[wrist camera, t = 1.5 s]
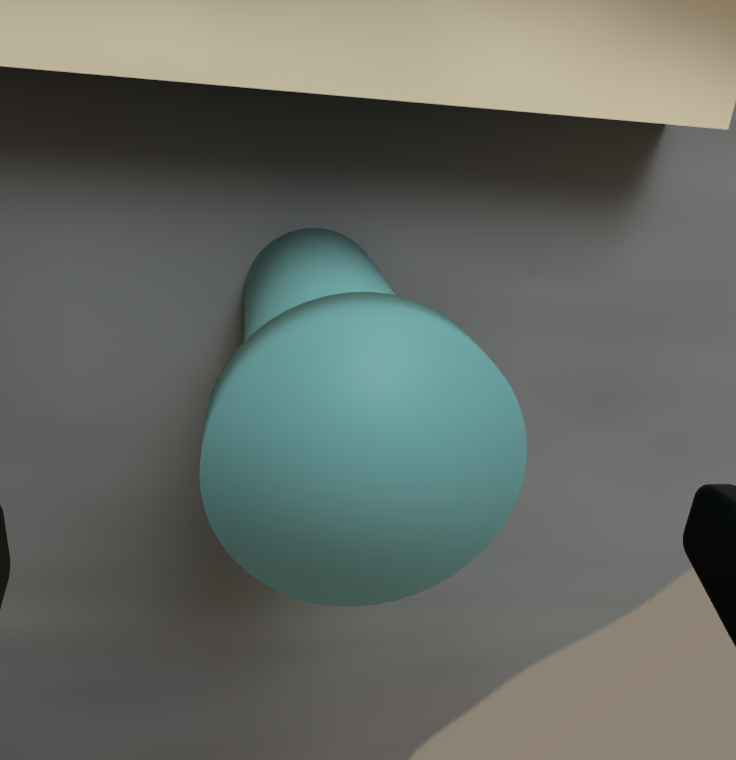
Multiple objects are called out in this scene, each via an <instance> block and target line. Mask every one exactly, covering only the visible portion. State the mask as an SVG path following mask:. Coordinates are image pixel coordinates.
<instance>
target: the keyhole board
mask: <svg viewBox="0 0 736 760" xmlns="http://www.w3.org/2000/svg"><path fill="white" fill-rule="evenodd" d="M0 66H3V67H15V68H26V69H38V70H49V71H61V72H72V73H84V74H95V75H107V76H118V77H130V78H141V79H153V80H164V81H176V82H187V83H199V84H210V85H222V86H233V87H245V88H256V89H268V90H279V91H291V92H302V93H314V94H325V95H337V96H348V97H360V98H371V99H383V100H394V101H406V102H417V103H429V104H440V105H452V106H463V107H475V108H486V109H498V110H509V111H521V112H532V113H544V114H555V115H567V116H578V117H590V118H601V119H613V120H624V121H636V122H647V123H659V124H670V125H682V126H693V127H705V128H716V129H728V128H729V124H730V121H731V117H732V113H733V109H734V105H735V102H736V0H0Z"/></svg>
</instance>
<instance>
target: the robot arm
mask: <svg viewBox="0 0 736 760" xmlns="http://www.w3.org/2000/svg"><path fill="white" fill-rule="evenodd" d="M683 546H684V550H685V552H686V555H687V557H688V558H689V560H690V562H691V564H692V566H693V568H694V570H695V572H696V574H697V575H698V577H699V579H700V581H701V583H702V585H703V587H704V589H705V591H706V593H707V594H708V596H709V598H710V600H711V602H712V604H713V606H714V607H715V609H716V611H717V613H718V615H719V617H720V619H721V621H722V623H723V625H724V626H725V628H726V630H727V632H728V634H729V636H730V637H731V639H732V641H733V643H734V645H735V646H736V486H735V485H731V484H708V485H703V486H702V487H700V488H699V489H698V490H697V492H696V494H695V496H694V499H693V503H692V506H691V509H690V513H689V516H688V519H687V523H686V526H685V529H684V533H683ZM9 573H10V555H9V548H8V541H7V534H6V528H5V521H4V514H3V510H2V507H1V505H0V608H1V605H2V601H3V597H4V594H5V590H6V587H7V583H8V579H9Z"/></svg>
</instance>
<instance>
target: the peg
mask: <svg viewBox="0 0 736 760" xmlns="http://www.w3.org/2000/svg"><path fill="white" fill-rule="evenodd" d="M526 458H527V437H526V430H525V425H524V419H523V415H522V412H521V409H520V406H519V403H518V400H517V398H516V397H515V395H514V393H513V391H512V389H511V387H510V385H509V383H508V382H507V380H506V379H505V378H504V376H503V375H502V373H501V372H500V371H499V369H498V368H497V367H496V366H495V365H494V363H493V362H492V361H491V360H490V359H489V358H488V357H487V355H486V354H485V353H484V352H483V351H482V350H481V349H480V347H479V346H478V345H477V344H476V343H475V342H474V341H473V339H472V338H471V337H470V336H469V335H468V334H467V333H466V332H465V331H464V330H463V329H462V328H461V327H460V326H459V325H457V324H456V323H455V322H453V321H452V320H451V319H449V318H448V317H447V316H445V315H444V314H442V313H440V312H438V311H437V310H435V309H433V308H431V307H429V306H427V305H425V304H422V303H420V302H417V301H414V300H412V299H409V298H405V297H401V296H396V295H395V294H394V292H393V291H392V290H391V288H390V287H389V285H388V284H387V282H386V281H385V280H384V278H383V277H382V275H381V274H380V272H379V271H378V269H377V268H376V267H375V265H374V264H373V262H372V261H371V259H370V258H369V257H368V255H367V254H366V253H365V251H364V250H363V249H362V248H361V247H360V246H359V245H357V244H356V243H355V242H354V241H352V240H351V239H349V238H347V237H346V236H344V235H342V234H339V233H337V232H334V231H330V230H326V229H318V228H307V229H301V230H296V231H293V232H289V233H287V234H285V235H282V236H280V237H279V238H277V239H275V240H274V241H272V242H271V243H270V244H268V245H267V246H266V247H265V248H264V249H263V250H262V251H261V252H260V253H259V255H258V256H257V257H256V259H255V260H254V262H253V264H252V266H251V267H250V270H249V272H248V275H247V278H246V283H245V291H244V343H243V344H242V345H241V346H240V347H239V348H238V349H237V350H236V351H235V353H234V354H233V355H232V357H231V358H230V359H229V361H228V362H227V363H226V365H225V367H224V368H223V370H222V372H221V374H220V376H219V378H218V379H217V381H216V383H215V386H214V389H213V391H212V394H211V397H210V399H209V403H208V408H207V412H206V417H205V424H204V433H203V441H202V450H201V459H200V475H199V478H200V489H201V497H202V501H203V505H204V509H205V513H206V516H207V518H208V521H209V523H210V525H211V528H212V530H213V532H214V534H215V535H216V537H217V539H218V540H219V542H220V543H221V545H222V547H223V548H224V549H225V550H226V552H227V553H228V554H229V555H230V556H231V558H232V559H233V560H234V561H235V562H236V563H237V564H238V565H239V566H240V567H242V568H243V569H244V570H245V571H246V572H247V573H248V574H250V575H251V576H253V577H254V578H255V579H257V580H258V581H260V582H261V583H263V584H264V585H266V586H268V587H270V588H272V589H274V590H276V591H278V592H280V593H283V594H286V595H288V596H291V597H294V598H297V599H300V600H304V601H308V602H313V603H317V604H325V605H334V606H362V605H372V604H379V603H384V602H389V601H394V600H398V599H401V598H404V597H407V596H410V595H414V594H416V593H418V592H421V591H423V590H425V589H428V588H430V587H432V586H434V585H436V584H438V583H440V582H441V581H443V580H445V579H447V578H449V577H450V576H452V575H453V574H454V573H456V572H457V571H459V570H460V569H462V568H463V567H464V566H466V565H467V564H468V563H469V562H470V561H471V560H473V559H474V558H475V557H476V556H477V555H478V554H480V552H481V551H482V550H483V549H484V548H485V547H486V546H487V545H488V544H489V543H490V542H491V541H492V539H493V538H494V537H495V535H496V534H497V533H498V531H499V530H500V529H501V527H502V526H503V524H504V523H505V521H506V519H507V517H508V516H509V514H510V512H511V510H512V509H513V506H514V504H515V502H516V499H517V497H518V494H519V492H520V489H521V485H522V481H523V477H524V473H525V466H526Z"/></svg>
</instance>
